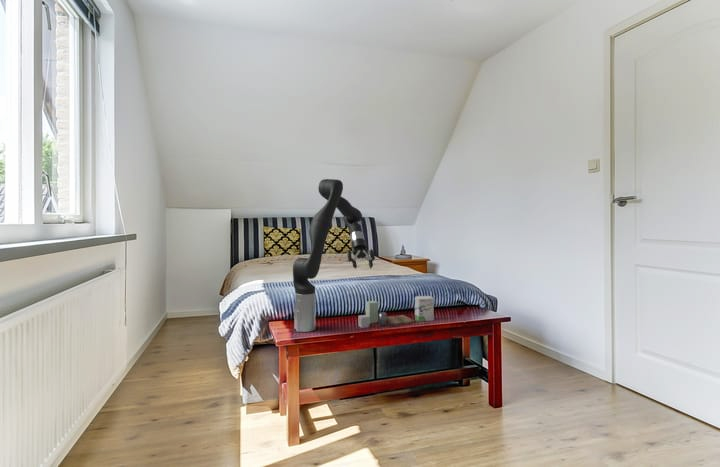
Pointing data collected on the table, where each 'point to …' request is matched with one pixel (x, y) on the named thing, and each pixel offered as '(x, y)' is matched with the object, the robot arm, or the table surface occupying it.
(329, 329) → the table surface
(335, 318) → the table surface
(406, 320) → the walnut board
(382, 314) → the metal cylinder
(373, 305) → the sage block
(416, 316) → the ink box
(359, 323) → the grey block
